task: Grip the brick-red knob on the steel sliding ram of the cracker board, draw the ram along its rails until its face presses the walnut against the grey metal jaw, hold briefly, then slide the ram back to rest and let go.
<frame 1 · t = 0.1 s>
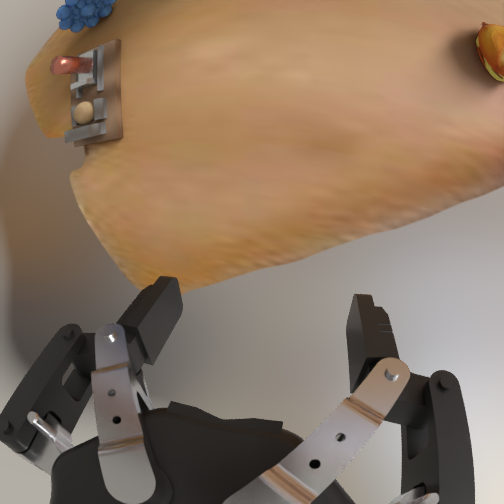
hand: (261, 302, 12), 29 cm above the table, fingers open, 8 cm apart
ram: (73, 69, 28), point 6 cm above the table, slide at 0.0 cm
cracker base: (96, 93, 36), on the table
grapes: (107, 10, 27), on the table
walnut: (92, 111, 36), point 1 cm above the table, touching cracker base
cheeseburger: (491, 56, 20), on the table
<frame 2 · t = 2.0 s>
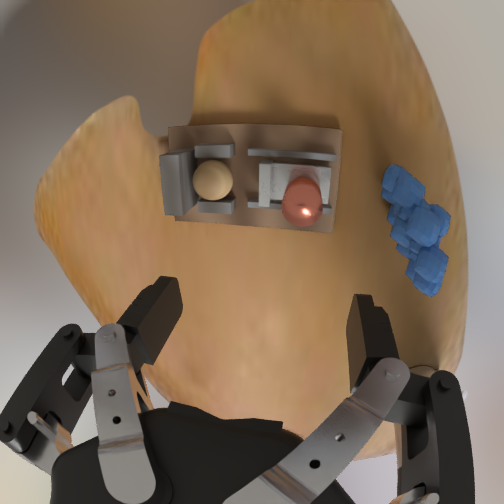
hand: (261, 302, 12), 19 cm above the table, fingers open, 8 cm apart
ram: (294, 191, 23), point 6 cm above the table, slide at 0.0 cm
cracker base: (252, 173, 29), on the table
grapes: (402, 205, 27), on the table
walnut: (219, 175, 28), point 1 cm above the table, touching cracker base
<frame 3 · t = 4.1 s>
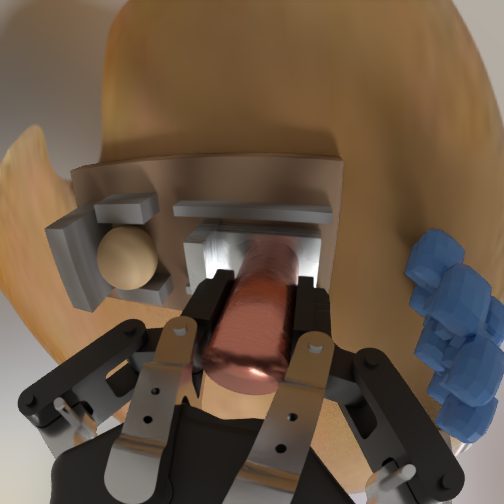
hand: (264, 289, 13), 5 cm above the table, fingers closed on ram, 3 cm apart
ram: (246, 297, 12), point 6 cm above the table, slide at 0.0 cm, touching gripper
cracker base: (194, 235, 18), on the table
grapes: (433, 274, 16), on the table
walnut: (142, 242, 18), point 1 cm above the table, touching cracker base
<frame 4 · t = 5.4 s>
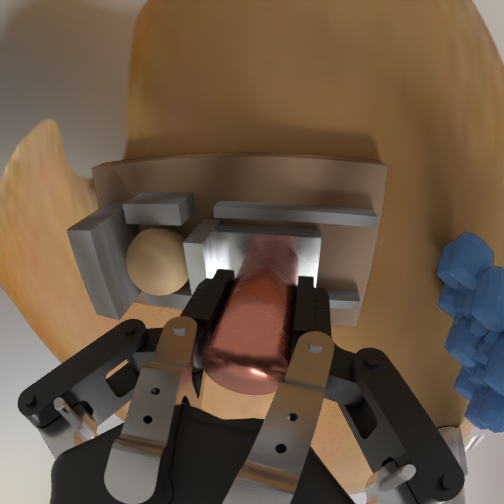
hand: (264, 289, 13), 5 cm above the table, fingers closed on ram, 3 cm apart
ram: (246, 297, 12), point 6 cm above the table, slide at 2.4 cm, touching gripper
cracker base: (228, 237, 18), on the table
grapes: (458, 275, 16), on the table
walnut: (173, 245, 17), point 1 cm above the table, touching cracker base
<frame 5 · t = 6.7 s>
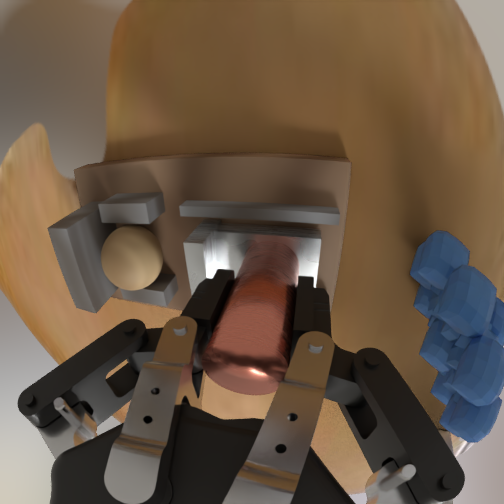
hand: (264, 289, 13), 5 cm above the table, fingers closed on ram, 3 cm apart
ram: (246, 297, 12), point 6 cm above the table, slide at 0.4 cm, touching gripper
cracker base: (200, 236, 18), on the table
grapes: (437, 276, 16), on the table
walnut: (147, 243, 17), point 1 cm above the table, touching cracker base
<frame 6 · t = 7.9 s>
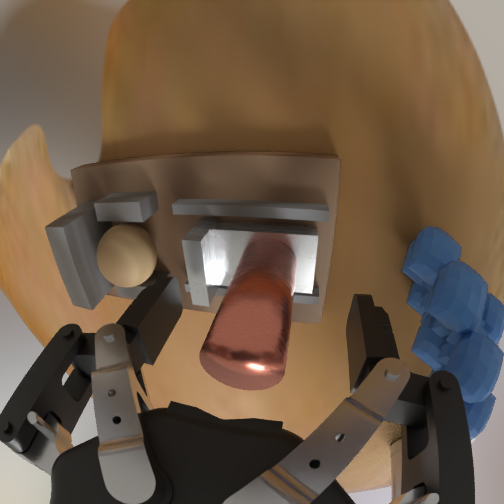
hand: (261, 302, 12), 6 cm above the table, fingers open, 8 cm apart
ram: (244, 294, 13), point 6 cm above the table, slide at 0.0 cm
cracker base: (193, 233, 18), on the table
grapes: (431, 272, 17), on the table
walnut: (142, 241, 18), point 1 cm above the table, touching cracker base
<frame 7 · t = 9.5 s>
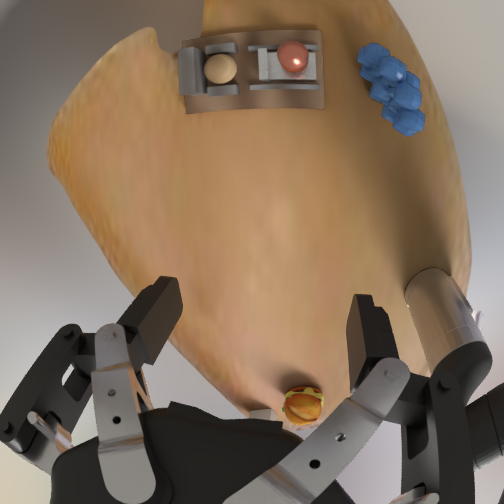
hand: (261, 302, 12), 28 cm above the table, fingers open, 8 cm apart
ram: (287, 61, 24), point 6 cm above the table, slide at 0.0 cm
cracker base: (252, 70, 30), on the table
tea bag: (264, 411, 69), on the table
grapes: (381, 89, 28), on the table
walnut: (224, 70, 29), point 1 cm above the table, touching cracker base
cheeseburger: (303, 392, 61), on the table
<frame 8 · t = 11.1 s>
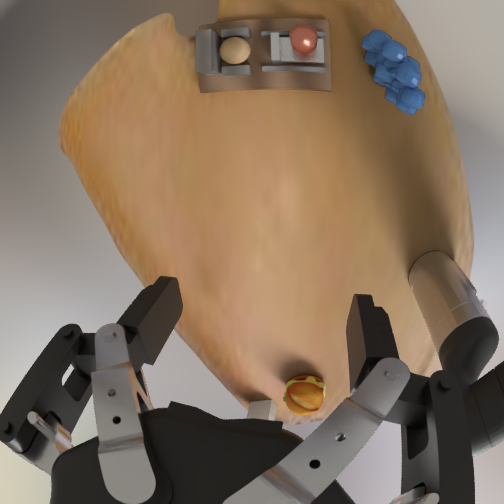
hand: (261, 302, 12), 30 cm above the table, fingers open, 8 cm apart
ram: (297, 44, 25), point 6 cm above the table, slide at 0.0 cm
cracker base: (264, 54, 30), on the table
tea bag: (263, 403, 69), on the table
grapes: (385, 75, 29), on the table
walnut: (238, 53, 30), point 1 cm above the table, touching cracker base
cheeseburger: (305, 382, 61), on the table
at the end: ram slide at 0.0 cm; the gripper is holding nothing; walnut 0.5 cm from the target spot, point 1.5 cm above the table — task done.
